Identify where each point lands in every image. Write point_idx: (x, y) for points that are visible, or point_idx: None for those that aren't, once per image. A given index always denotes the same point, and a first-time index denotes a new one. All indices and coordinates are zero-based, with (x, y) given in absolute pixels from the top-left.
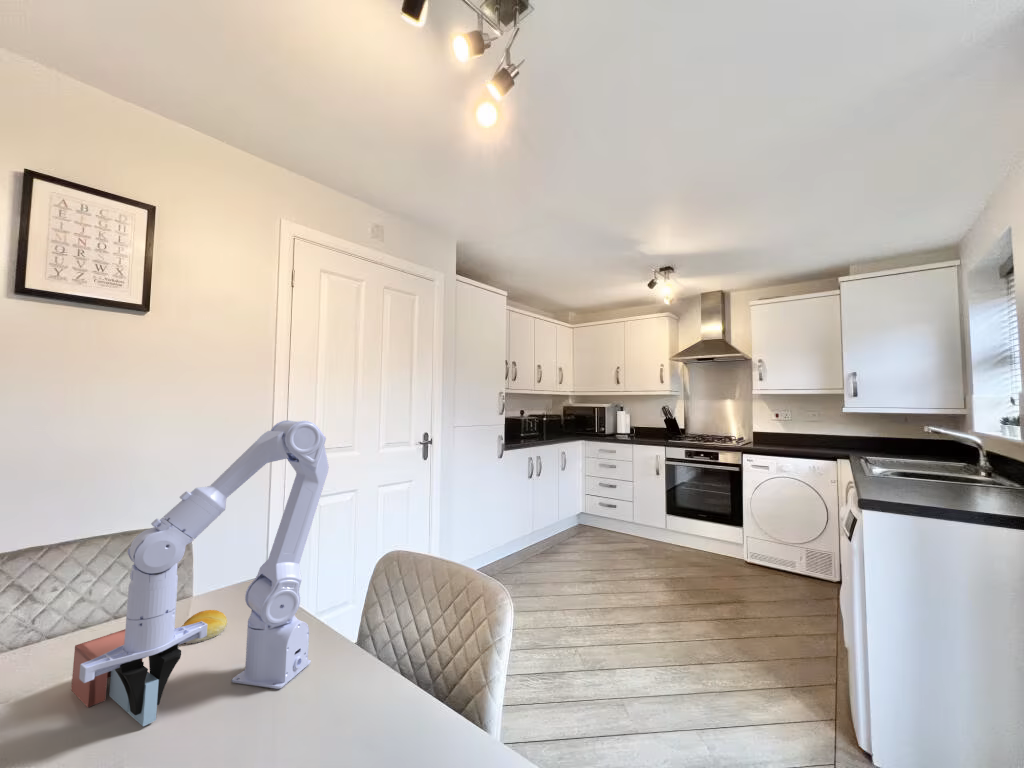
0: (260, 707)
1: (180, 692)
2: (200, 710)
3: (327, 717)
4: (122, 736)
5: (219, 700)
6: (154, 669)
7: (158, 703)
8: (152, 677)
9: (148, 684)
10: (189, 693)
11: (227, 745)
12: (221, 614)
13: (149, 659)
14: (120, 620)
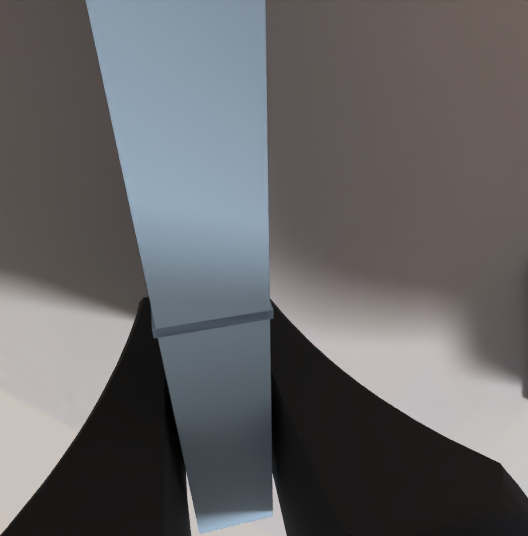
0: (447, 437)
1: (405, 142)
2: (361, 349)
3: None
4: (104, 320)
5: (429, 335)
6: (293, 492)
7: None
8: (259, 481)
9: (213, 530)
10: (417, 192)
11: None
12: None
13: (314, 486)
14: None
